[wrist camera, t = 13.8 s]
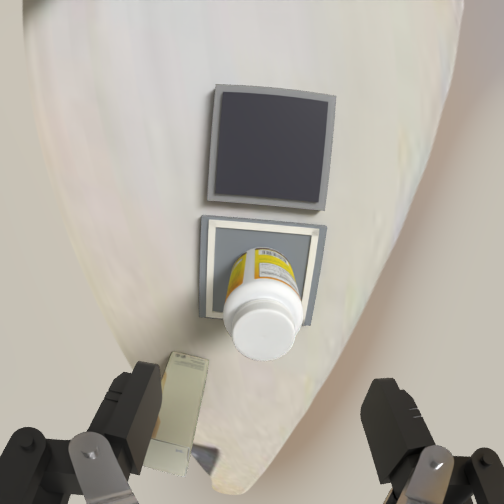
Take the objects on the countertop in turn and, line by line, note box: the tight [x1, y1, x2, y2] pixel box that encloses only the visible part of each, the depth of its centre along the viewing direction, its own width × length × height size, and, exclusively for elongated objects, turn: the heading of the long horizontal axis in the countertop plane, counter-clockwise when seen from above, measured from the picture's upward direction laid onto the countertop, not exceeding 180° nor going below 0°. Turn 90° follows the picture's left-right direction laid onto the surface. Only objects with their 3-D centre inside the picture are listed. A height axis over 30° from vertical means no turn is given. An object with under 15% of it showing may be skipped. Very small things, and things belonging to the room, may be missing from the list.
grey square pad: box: [199, 215, 327, 326], centre depth 29 cm, size 11×10×1 cm
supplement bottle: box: [223, 247, 303, 361], centre depth 24 cm, size 6×6×10 cm
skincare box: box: [143, 352, 209, 477], centre depth 27 cm, size 6×4×12 cm
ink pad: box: [207, 84, 336, 211], centre depth 25 cm, size 10×10×1 cm
